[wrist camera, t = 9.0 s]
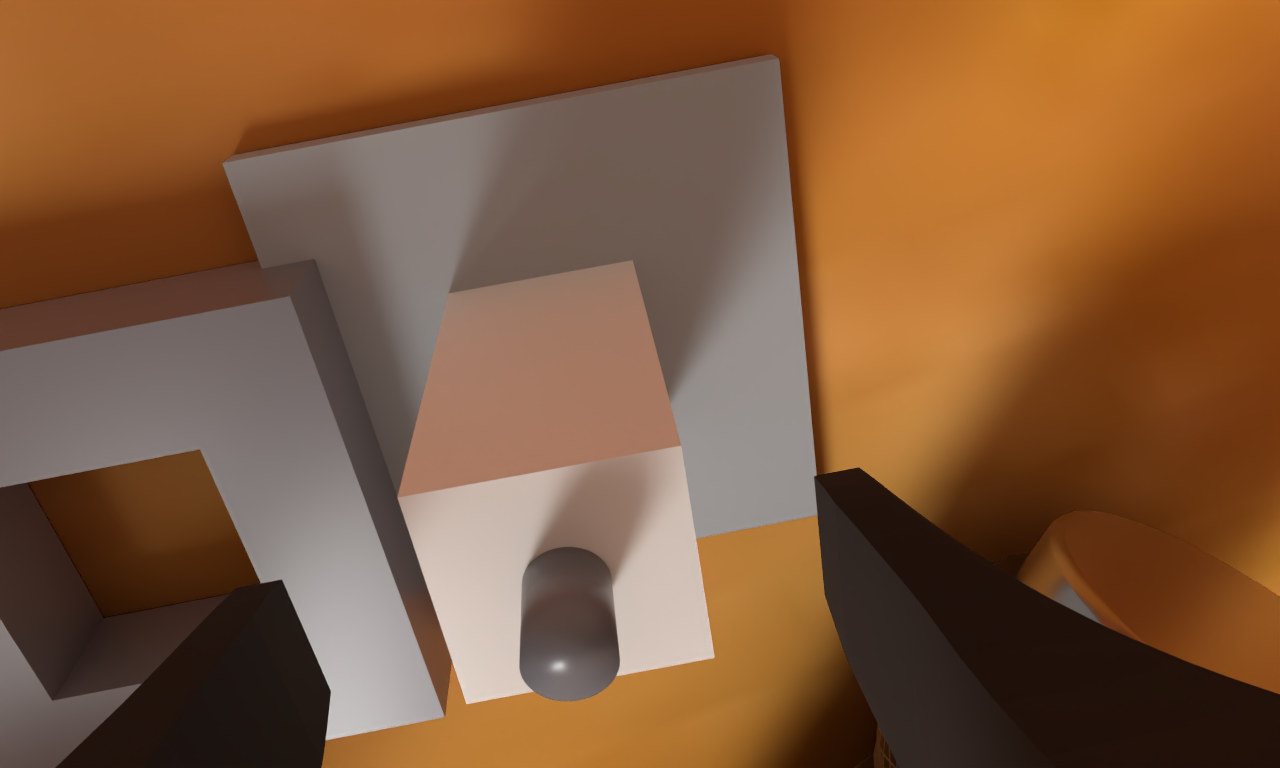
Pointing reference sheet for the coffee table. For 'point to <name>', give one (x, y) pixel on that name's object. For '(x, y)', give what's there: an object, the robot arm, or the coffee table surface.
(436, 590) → the plug
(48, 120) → the coffee table surface
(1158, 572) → the muzzle brake
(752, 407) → the rubber pad
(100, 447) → the socket block
